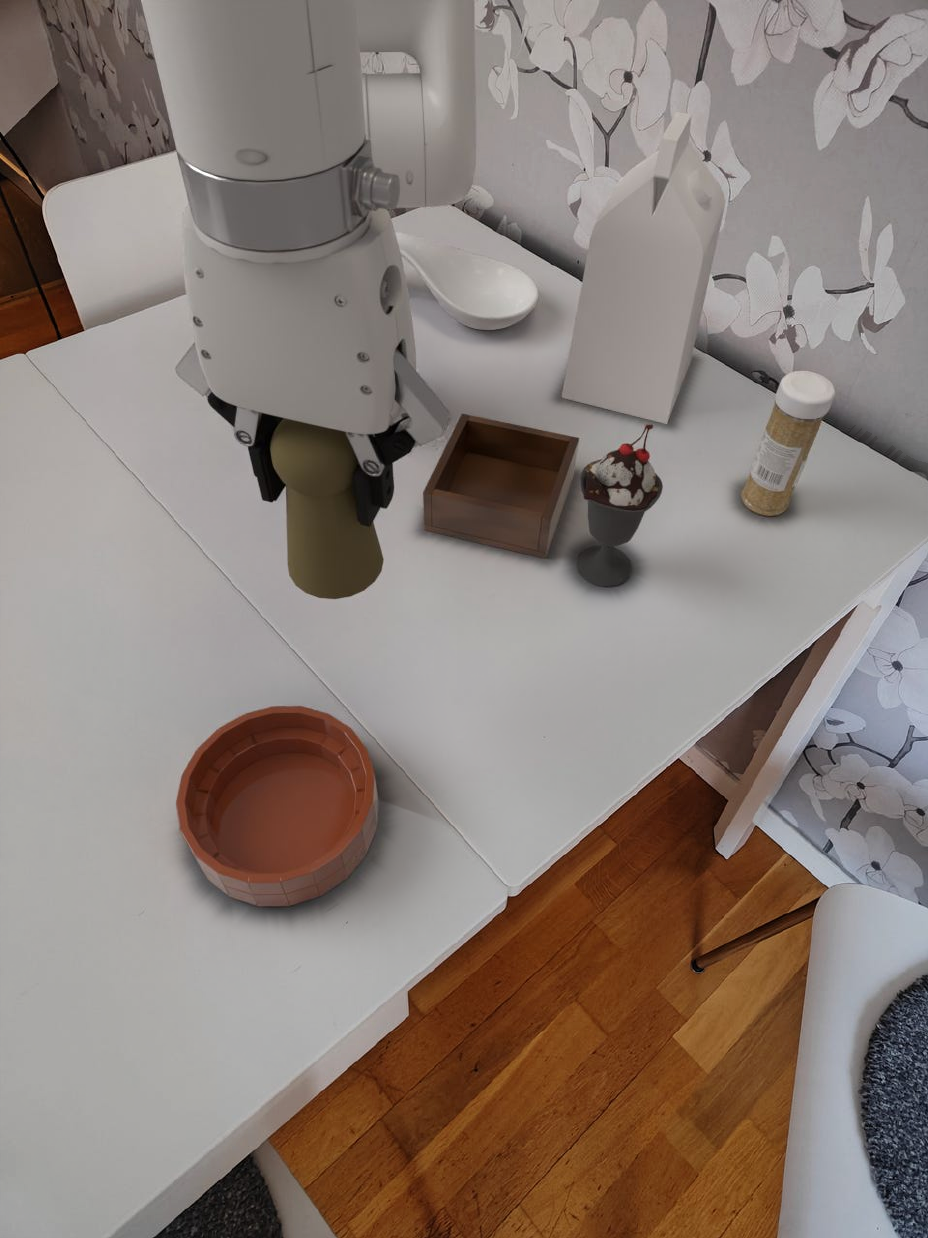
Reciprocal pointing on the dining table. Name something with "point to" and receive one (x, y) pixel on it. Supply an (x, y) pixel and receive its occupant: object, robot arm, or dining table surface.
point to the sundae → (616, 509)
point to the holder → (500, 485)
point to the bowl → (279, 805)
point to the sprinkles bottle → (787, 441)
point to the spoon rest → (471, 283)
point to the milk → (646, 282)
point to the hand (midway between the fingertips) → (325, 495)
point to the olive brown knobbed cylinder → (323, 512)
